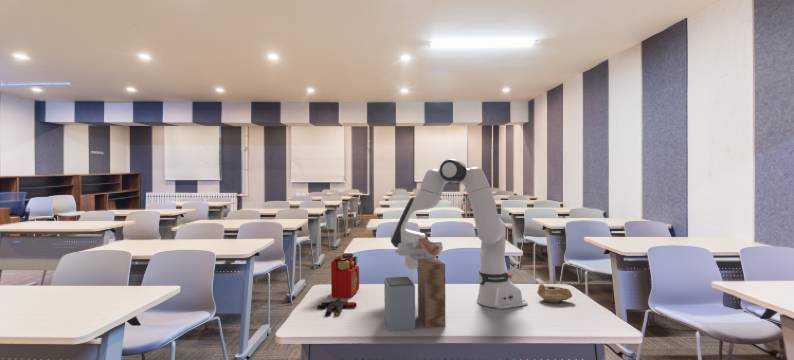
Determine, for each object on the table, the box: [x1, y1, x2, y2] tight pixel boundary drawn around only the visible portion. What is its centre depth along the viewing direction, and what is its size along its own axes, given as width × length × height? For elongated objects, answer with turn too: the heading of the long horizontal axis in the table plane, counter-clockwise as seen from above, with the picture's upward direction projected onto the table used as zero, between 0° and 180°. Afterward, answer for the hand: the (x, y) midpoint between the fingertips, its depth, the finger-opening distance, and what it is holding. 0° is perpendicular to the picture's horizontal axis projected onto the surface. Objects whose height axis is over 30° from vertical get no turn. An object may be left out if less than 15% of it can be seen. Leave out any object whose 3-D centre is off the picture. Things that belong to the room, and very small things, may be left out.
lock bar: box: [418, 238, 440, 256], centre depth 154 cm, size 3×22×3 cm, turn 11°
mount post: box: [417, 257, 447, 329], centre depth 149 cm, size 8×12×24 cm, turn 10°
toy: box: [316, 297, 357, 317], centre depth 164 cm, size 15×16×3 cm
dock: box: [383, 276, 416, 332], centre depth 147 cm, size 10×12×17 cm
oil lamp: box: [536, 283, 573, 304], centre depth 173 cm, size 11×15×8 cm
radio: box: [330, 253, 360, 299], centre depth 187 cm, size 16×10×20 cm, turn 168°
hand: (423, 241), depth 161 cm, fingers closed on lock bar, 3 cm apart
